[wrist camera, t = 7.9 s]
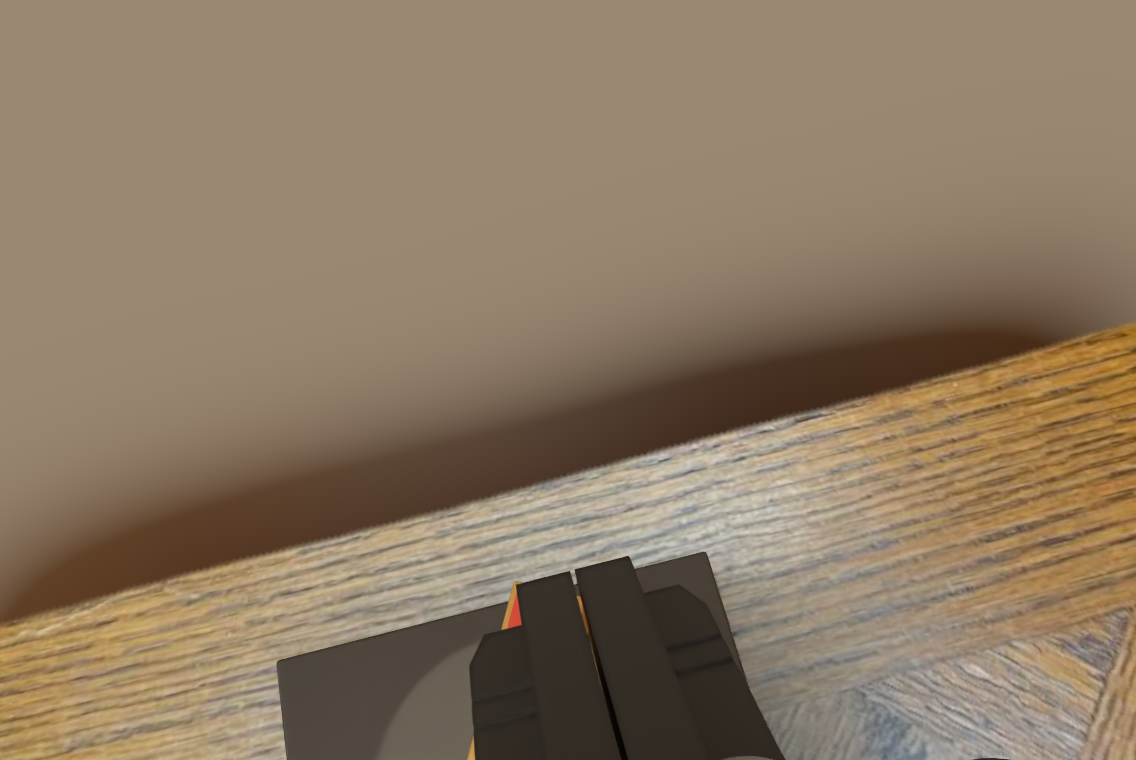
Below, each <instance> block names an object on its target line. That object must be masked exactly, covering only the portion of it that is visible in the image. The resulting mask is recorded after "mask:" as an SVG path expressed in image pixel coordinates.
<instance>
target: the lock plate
mask: <svg viewBox="0 0 1136 760" xmlns="http://www.w3.org/2000/svg"><path fill="white" fill-rule="evenodd" d="M635 572H636V574H637V577H638V579H639V582H640V584H641V587H642V590H643V592H644V593H646V592H650V591H654V590H658V589H662V588H665V587H669V586H673V585H677V584H679V585H681V586H682V587H684V588H685V589H686V590H688V591H689V592H691V593H692V594H693V595H695V596H696V597H698V598H699V599H700V600H702V601H703V602H705V603H706V604H707V606H708V608H709V610H710V612H711V614H712V616H713V618H714V620H715V622H716V624H717V626H718V628H719V630H720V632H721V635H722V638H724V640H725V642H726V644H727V646H728V648H729V650H730V652H731V654H732V656H733V660H734V662H736V664H737V666H738V668H739V670H740V672H741V674H742V676H743V678H744V680H745V682H746V684H747V686H748V683H747V680H746V677H745V674H744V670H743V667H742V664H741V661H740V658H739V654H738V651H737V648H736V645H735V642H734V638H733V635H732V632H731V629H730V626H729V622H728V619H727V616H726V613H725V610H724V606H723V603H722V600H721V597H720V594H719V590H718V587H717V584H716V581H715V578H714V574H713V571H712V568H711V565H710V561H709V558H708V555H707V553H706V552H700V553H696V554H692V555H688V556H685V557H681V558H677V559H673V560H669V561H665V562H661V563H657V564H653V565H649V566H645V567H642V568H638V569H635ZM574 588H575V591H576V595H577V596H580V593H579V588H578V584H575V585H574ZM508 603H509V602H505V603H501V604H497V605H493V606H489V607H485V608H481V609H477V610H473V611H470V612H466V613H462V614H458V615H454V616H450V617H446V618H442V619H438V620H434V621H430V622H427V623H423V624H419V625H415V626H411V627H407V628H403V629H399V630H395V631H391V632H387V633H384V634H380V635H376V636H372V637H368V638H364V639H360V640H356V641H352V642H348V643H344V644H341V645H337V646H333V647H329V648H325V649H321V650H317V651H313V652H309V653H305V654H301V655H298V656H294V657H290V658H286V659H282V660H279V661H277V673H278V682H279V692H280V701H281V710H282V719H283V729H284V738H285V747H286V757H287V760H467V758H468V754H469V750H470V746H471V743H472V739H473V731H474V727H473V720H472V699H471V689H470V674H469V665H470V663H471V661H472V659H473V656H474V654H475V652H476V650H477V648H478V646H479V643H480V641H481V639H482V637H483V635H484V634H488V633H492V632H496V631H500V630H501V629H502V625H503V621H504V618H505V614H506V610H507V606H508ZM587 636H588V639H589V643H590V647H591V651H592V654H593V649H592V645H591V641H590V636H589V632H588V635H587ZM593 658H594V654H593ZM594 662H595V658H594ZM595 665H596V662H595ZM596 669H597V667H596ZM597 673H598V671H597ZM598 676H599V675H598ZM599 680H600V679H599ZM600 684H601V683H600ZM601 688H602V687H601ZM748 688H749V686H748Z"/></svg>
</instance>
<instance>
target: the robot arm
mask: <svg viewBox="0 0 1136 760" xmlns="http://www.w3.org/2000/svg"><path fill="white" fill-rule="evenodd" d="M575 575H576V579H577V584H578V588H579V593H580V597H581V601H582V606H583V610H584V614H585V619H586V623H587V627H588V632H589V636H590V641H591V645H592V649H593V654H594V658H595V662H596V665H595V662H594V658H593V654H592V651H591V647H590V643H589V639H588V636H587V632H586V628H585V625H584V621H583V617H582V614H581V610H580V606H579V602H578V599H577V595H576V591H575V588H574V584H573V580H572V577H571V573H570V571H568V572H564V573H560V574H556V575H552V576H548V577H544V578H540V579H536V580H533V581H529V582H525V583H521V584H517V585H516V592H517V598H518V605H519V611H520V617H521V623H522V625H519V626H515V627H511V628H507V629H503V630H500V631H496V632H492V633H488V634H484V635H483V637H482V639H481V641H480V643H479V646H478V648H477V650H476V652H475V654H474V656H473V659H472V661H471V663H470V665H469V674H470V689H471V699H472V720H473V727H474V731H473V735H474V750H475V760H785V758H784V756H783V755H782V753H781V752H780V750H779V748H778V746H777V744H776V742H775V740H774V738H773V736H772V734H771V732H770V730H769V728H768V726H767V724H766V722H765V720H764V718H763V716H762V714H761V712H760V710H759V708H758V706H757V704H756V702H755V700H754V698H753V696H752V694H751V692H750V690H749V688H748V686H747V684H746V682H745V680H744V678H743V676H742V674H741V672H740V670H739V668H738V666H737V664H736V662H734V660H733V656H732V654H731V652H730V650H729V648H728V646H727V644H726V642H725V640H724V638H722V635H721V632H720V630H719V628H718V626H717V624H716V622H715V620H714V618H713V616H712V614H711V612H710V610H709V608H708V606H707V604H706V603H705V602H703V601H702V600H700V599H699V598H698V597H696V596H695V595H693V594H692V593H691V592H689V591H688V590H686V589H685V588H684V587H682V586H681V585H679V584H677V585H673V586H669V587H665V588H662V589H658V590H654V591H650V592H646V593H644V592H643V590H642V587H641V584H640V582H639V579H638V577H637V574H636V572H635V569H634V567H633V564H632V562H631V559H630V557H629V556H626V557H622V558H618V559H614V560H610V561H606V562H602V563H598V564H595V565H591V566H587V567H583V568H579V569H575ZM596 667H597V669H596ZM597 671H598V673H597ZM598 675H599V676H598ZM599 679H600V680H599ZM600 683H601V684H600ZM601 687H602V688H601ZM974 760H1009V759H998V758H981V759H974Z"/></svg>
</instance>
